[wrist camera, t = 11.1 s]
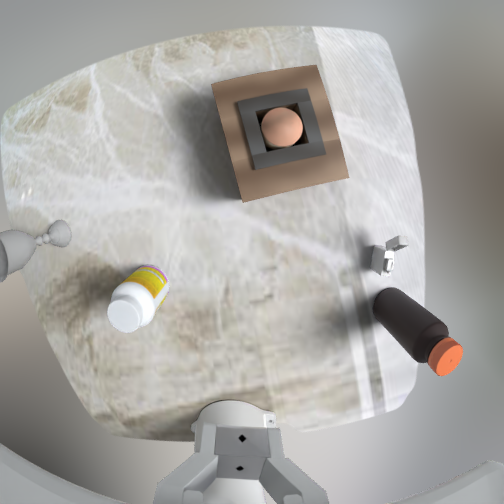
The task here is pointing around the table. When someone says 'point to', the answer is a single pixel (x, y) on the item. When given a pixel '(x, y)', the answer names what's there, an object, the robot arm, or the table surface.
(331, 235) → the table surface
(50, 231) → the chalice
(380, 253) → the lighter
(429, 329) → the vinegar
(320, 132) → the block
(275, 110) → the peg
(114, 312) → the supplement bottle
